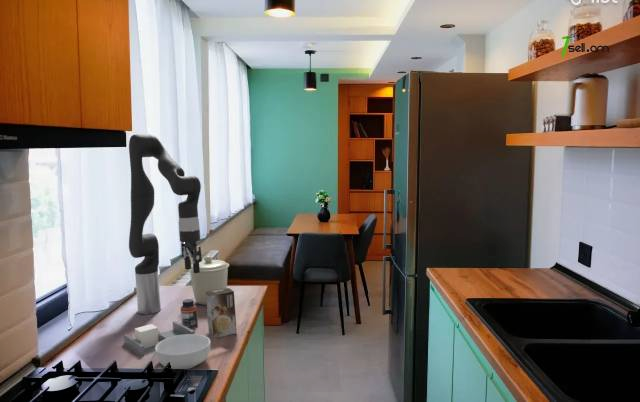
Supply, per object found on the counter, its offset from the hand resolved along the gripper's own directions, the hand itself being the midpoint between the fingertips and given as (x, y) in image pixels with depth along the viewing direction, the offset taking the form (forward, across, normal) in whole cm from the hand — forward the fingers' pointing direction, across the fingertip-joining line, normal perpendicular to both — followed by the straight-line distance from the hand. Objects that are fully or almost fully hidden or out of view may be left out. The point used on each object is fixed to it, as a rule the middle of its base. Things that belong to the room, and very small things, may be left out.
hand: (192, 271), depth 186 cm
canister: (+22, -28, +18) cm, 40 cm away
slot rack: (+22, +8, -17) cm, 29 cm away
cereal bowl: (+23, +29, -16) cm, 40 cm away
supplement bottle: (+22, 0, -2) cm, 23 cm away
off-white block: (+21, +9, -21) cm, 31 cm away
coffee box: (+23, +12, +5) cm, 26 cm away
